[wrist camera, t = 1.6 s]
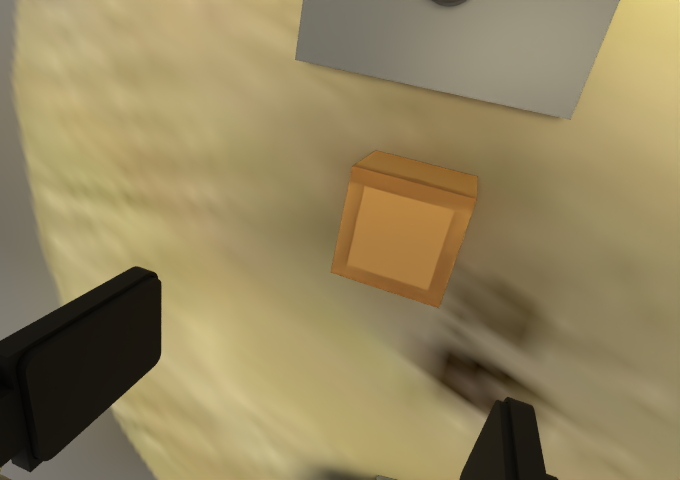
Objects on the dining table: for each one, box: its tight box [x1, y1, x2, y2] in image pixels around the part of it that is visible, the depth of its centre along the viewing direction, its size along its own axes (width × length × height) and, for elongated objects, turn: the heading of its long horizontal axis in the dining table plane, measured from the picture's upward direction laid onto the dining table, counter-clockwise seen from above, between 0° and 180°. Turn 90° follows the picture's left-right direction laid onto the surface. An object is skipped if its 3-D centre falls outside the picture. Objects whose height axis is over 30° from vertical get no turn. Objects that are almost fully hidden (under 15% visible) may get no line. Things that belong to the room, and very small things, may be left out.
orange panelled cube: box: [331, 151, 478, 308], centre depth 23 cm, size 6×6×5 cm
